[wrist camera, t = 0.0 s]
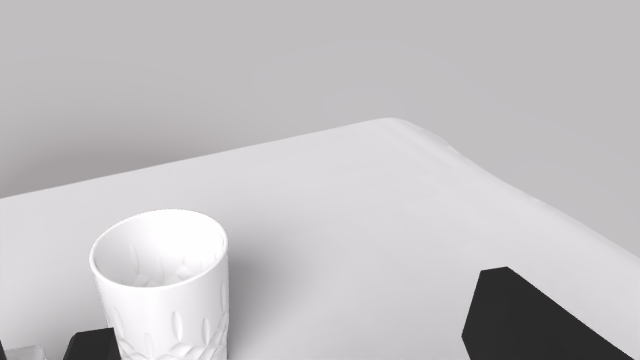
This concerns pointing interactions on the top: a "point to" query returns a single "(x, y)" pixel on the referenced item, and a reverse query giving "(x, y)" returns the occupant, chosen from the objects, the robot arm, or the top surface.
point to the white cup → (165, 285)
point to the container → (23, 353)
